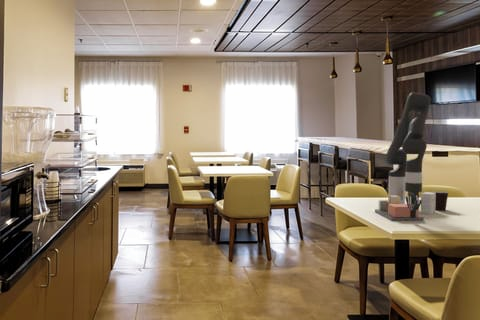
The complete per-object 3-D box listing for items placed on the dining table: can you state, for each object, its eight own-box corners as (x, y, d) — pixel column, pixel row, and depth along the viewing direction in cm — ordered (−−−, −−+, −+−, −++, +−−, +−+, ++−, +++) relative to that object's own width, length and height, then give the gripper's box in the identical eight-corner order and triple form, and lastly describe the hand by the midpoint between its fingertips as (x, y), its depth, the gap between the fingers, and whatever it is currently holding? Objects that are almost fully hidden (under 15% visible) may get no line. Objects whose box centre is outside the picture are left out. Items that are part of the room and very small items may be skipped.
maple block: (388, 210, 233) (388, 195, 233) (396, 210, 233) (396, 195, 233) (391, 212, 228) (391, 196, 228) (400, 212, 228) (400, 196, 228)
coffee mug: (443, 211, 237) (443, 193, 236) (427, 209, 243) (428, 191, 243) (453, 209, 244) (453, 191, 243) (437, 207, 251) (438, 190, 250)
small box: (424, 210, 240) (425, 191, 239) (435, 212, 236) (436, 192, 236) (420, 212, 234) (420, 193, 233) (431, 214, 230) (431, 194, 229)
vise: (374, 212, 237) (375, 200, 236) (404, 211, 237) (404, 199, 237) (391, 220, 213) (391, 207, 213) (423, 220, 214) (423, 207, 213)
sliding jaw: (387, 213, 224) (387, 203, 223) (410, 213, 224) (410, 203, 224) (394, 217, 214) (394, 207, 214) (418, 216, 215) (418, 206, 214)
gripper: (427, 183, 200) (427, 220, 201) (415, 180, 213) (414, 215, 214) (411, 183, 200) (410, 220, 201) (400, 180, 213) (399, 215, 214)
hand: (412, 217), depth 207 cm, fingers closed
